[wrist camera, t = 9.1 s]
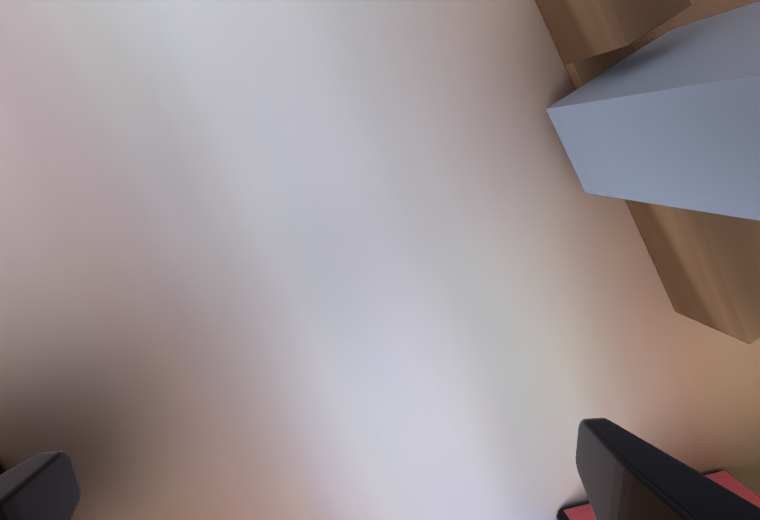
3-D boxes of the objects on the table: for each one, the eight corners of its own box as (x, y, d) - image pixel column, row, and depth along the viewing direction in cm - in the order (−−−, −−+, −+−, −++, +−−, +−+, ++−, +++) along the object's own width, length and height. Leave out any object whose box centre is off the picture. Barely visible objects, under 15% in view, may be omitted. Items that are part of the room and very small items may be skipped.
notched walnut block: (675, 311, 23) (749, 344, 19) (533, -5, 19) (592, -44, 15) (718, 283, 23) (801, 310, 19) (586, -39, 19) (658, -87, 15)
